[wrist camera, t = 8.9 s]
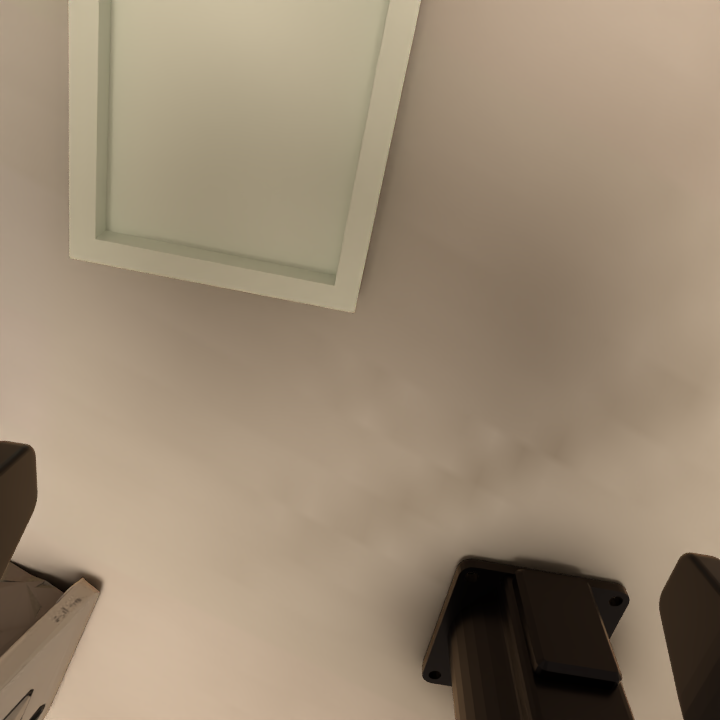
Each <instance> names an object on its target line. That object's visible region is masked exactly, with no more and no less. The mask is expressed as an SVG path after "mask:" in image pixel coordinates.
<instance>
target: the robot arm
mask: <svg viewBox="0 0 720 720" xmlns="http://www.w3.org/2000/svg"><path fill="white" fill-rule="evenodd" d="M36 502H37V473H36V455H35V451H34V449H33V448H32V447H31V446H30V445H28V444H22V443H16V442H10V441H0V581H1V579H2V577H3V574H4V572H5V570H6V568H7V566H8V564H9V562H10V560H11V558H12V556H13V554H14V551H15V549H16V547H17V545H18V543H19V541H20V539H21V537H22V535H23V533H24V531H25V528H26V526H27V524H28V522H29V520H30V518H31V516H32V514H33V511H34V509H35V506H36ZM469 572H475V573H474V574H467V573H469ZM612 597H615V598H612ZM629 600H630V599H629V596H628V594H627V591H626V589H625V587H623V586H622V585H620V584H617V583H611V582H605V581H599V580H593V579H587V578H581V577H576V576H570V575H564V574H558V573H552V572H546V571H540V570H534V569H529V568H523V567H517V566H511V565H505V564H499V563H493V562H487V561H481V560H476V559H468V560H464V561H463V562H461V563H460V564H459V565H458V567H457V570H456V572H455V575H454V578H453V581H452V584H451V586H450V589H449V592H448V595H447V597H446V600H445V603H444V606H443V608H442V611H441V614H440V617H439V619H438V622H437V625H436V628H435V631H434V633H433V636H432V639H431V642H430V644H429V647H428V650H427V653H426V655H425V658H424V661H423V664H422V676H423V678H424V680H426V681H427V682H430V683H434V684H441V685H447V686H452V691H453V701H454V710H455V720H634V717H633V714H632V711H631V708H630V705H629V703H628V700H627V697H626V694H625V691H624V688H623V685H622V683H621V680H622V674H621V671H620V668H619V666H618V663H617V660H616V657H615V654H614V652H613V649H612V646H611V643H610V640H609V639H610V637H611V635H612V633H613V632H614V630H615V628H616V626H617V624H618V622H619V620H620V619H621V617H622V615H623V613H624V611H625V609H626V608H627V606H628V604H629ZM659 610H660V616H661V620H662V625H663V630H664V634H665V639H666V643H667V648H668V653H669V657H670V662H671V667H672V671H673V676H674V681H675V685H676V690H677V695H678V699H679V703H680V707H681V711H682V715H683V719H684V720H720V560H719V559H718V558H716V557H713V556H709V555H703V554H697V553H685V554H683V555H682V556H681V557H680V559H679V560H678V562H677V564H676V566H675V568H674V570H673V571H672V573H671V575H670V577H669V579H668V581H667V583H666V585H665V587H664V589H663V591H662V593H661V596H660V602H659Z"/></svg>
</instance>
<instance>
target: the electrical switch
mask: <svg viewBox="0 0 720 720" xmlns="http://www.w3.org/2000/svg"><path fill="white" fill-rule="evenodd" d="M99 593H100V592H99V591H98V590H97V589H95V588H94V587H93V586H92V585H90V584H89V583H88V582H87V581H86V580H84V578H82V579H80V580H79V581H78V582H76V583H75V584H74V585H72V586H71V587H70V588H69V589H68V590H67V591H66V592H65V593H63V592H62V591H60V590H59V589H57V588H56V587H54V586H53V585H51V584H50V583H49V582H47V581H46V580H43V579H40V578H37V577H35V576H32V575H30V574H29V573H27V572H26V571H24V570H23V569H21V568H19V567H18V566H16V565H15V564H13V563H12V562H9V564H8V566H7V568H6V570H5V572H4V574H3V577H2V579H1V581H0V720H43V719H44V718H45V716H46V715H47V713H48V711H49V708H50V706H51V704H52V702H53V699H54V697H55V695H56V692H57V690H58V688H59V686H60V683H61V681H62V679H63V677H64V674H65V672H66V670H67V667H68V665H69V663H70V661H71V658H72V656H73V654H74V651H75V649H76V647H77V645H78V642H79V640H80V638H81V635H82V633H83V631H84V629H85V626H86V624H87V622H88V620H89V617H90V615H91V613H92V610H93V608H94V606H95V604H96V601H97V599H98V596H99Z"/></svg>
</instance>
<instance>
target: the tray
mask: <svg viewBox="0 0 720 720" xmlns="http://www.w3.org/2000/svg"><path fill="white" fill-rule="evenodd" d="M420 3H421V0H68V49H69V258H71V259H76V260H81V261H86V262H91V263H97V264H102V265H107V266H112V267H117V268H122V269H128V270H133V271H138V272H143V273H148V274H154V275H159V276H164V277H169V278H174V279H179V280H185V281H190V282H195V283H200V284H205V285H210V286H216V287H221V288H226V289H231V290H236V291H242V292H247V293H252V294H257V295H262V296H267V297H273V298H278V299H283V300H288V301H293V302H299V303H304V304H309V305H314V306H319V307H324V308H330V309H335V310H340V311H345V312H350V313H355V308H356V303H357V299H358V294H359V289H360V285H361V280H362V275H363V270H364V266H365V261H366V256H367V252H368V247H369V242H370V238H371V233H372V228H373V224H374V219H375V214H376V210H377V205H378V200H379V196H380V191H381V186H382V181H383V177H384V172H385V167H386V163H387V158H388V153H389V149H390V144H391V139H392V135H393V130H394V125H395V121H396V116H397V111H398V107H399V102H400V97H401V92H402V88H403V83H404V78H405V74H406V69H407V64H408V60H409V55H410V50H411V46H412V41H413V36H414V32H415V27H416V22H417V18H418V13H419V8H420Z"/></svg>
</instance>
